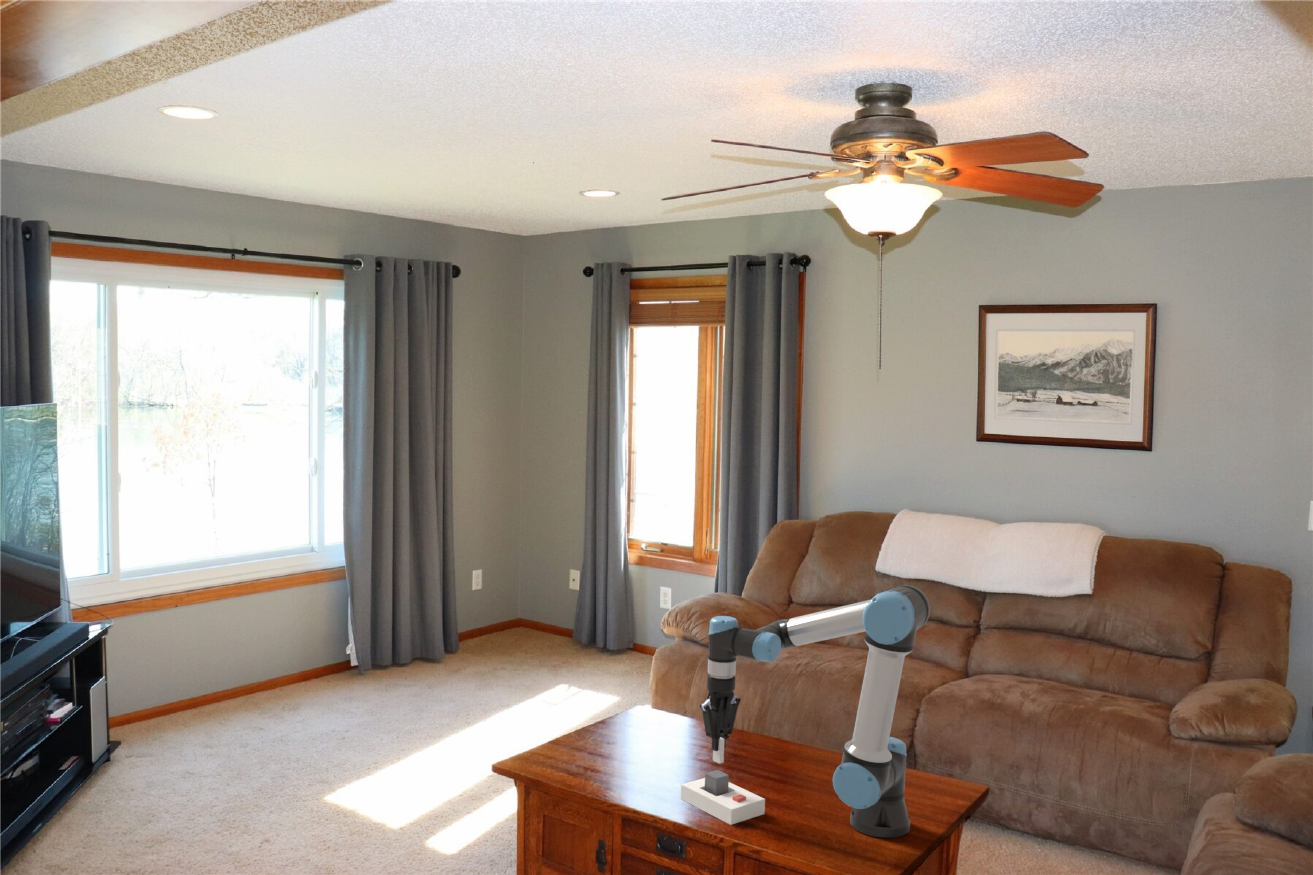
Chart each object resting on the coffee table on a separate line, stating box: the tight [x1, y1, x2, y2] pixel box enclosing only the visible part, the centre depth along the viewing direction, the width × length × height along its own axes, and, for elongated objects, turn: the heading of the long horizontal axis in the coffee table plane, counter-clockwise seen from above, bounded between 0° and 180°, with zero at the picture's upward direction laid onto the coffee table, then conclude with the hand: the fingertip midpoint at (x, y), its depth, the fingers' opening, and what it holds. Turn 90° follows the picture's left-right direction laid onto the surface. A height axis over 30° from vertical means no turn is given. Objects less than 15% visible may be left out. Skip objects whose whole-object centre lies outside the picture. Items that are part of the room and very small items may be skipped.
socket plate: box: [680, 777, 766, 826], centre depth 278 cm, size 20×12×5 cm, turn 38°
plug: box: [704, 769, 730, 796], centre depth 280 cm, size 4×4×8 cm
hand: (718, 761), depth 279 cm, fingers closed
